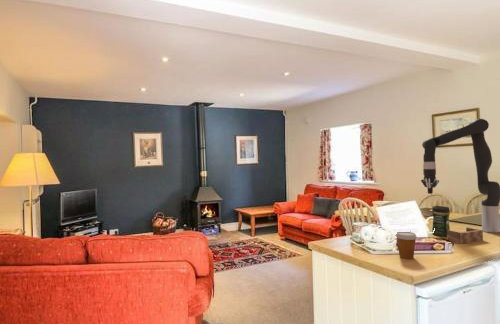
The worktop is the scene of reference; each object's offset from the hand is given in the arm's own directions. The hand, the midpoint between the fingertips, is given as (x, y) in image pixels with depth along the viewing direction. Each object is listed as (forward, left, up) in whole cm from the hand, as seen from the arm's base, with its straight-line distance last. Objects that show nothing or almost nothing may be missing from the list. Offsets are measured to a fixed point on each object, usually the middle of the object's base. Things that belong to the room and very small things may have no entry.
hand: (430, 193), depth 221 cm
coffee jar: (+7, +13, -25) cm, 29 cm away
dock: (+7, +28, -25) cm, 38 cm away
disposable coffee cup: (+64, +38, -25) cm, 78 cm away
